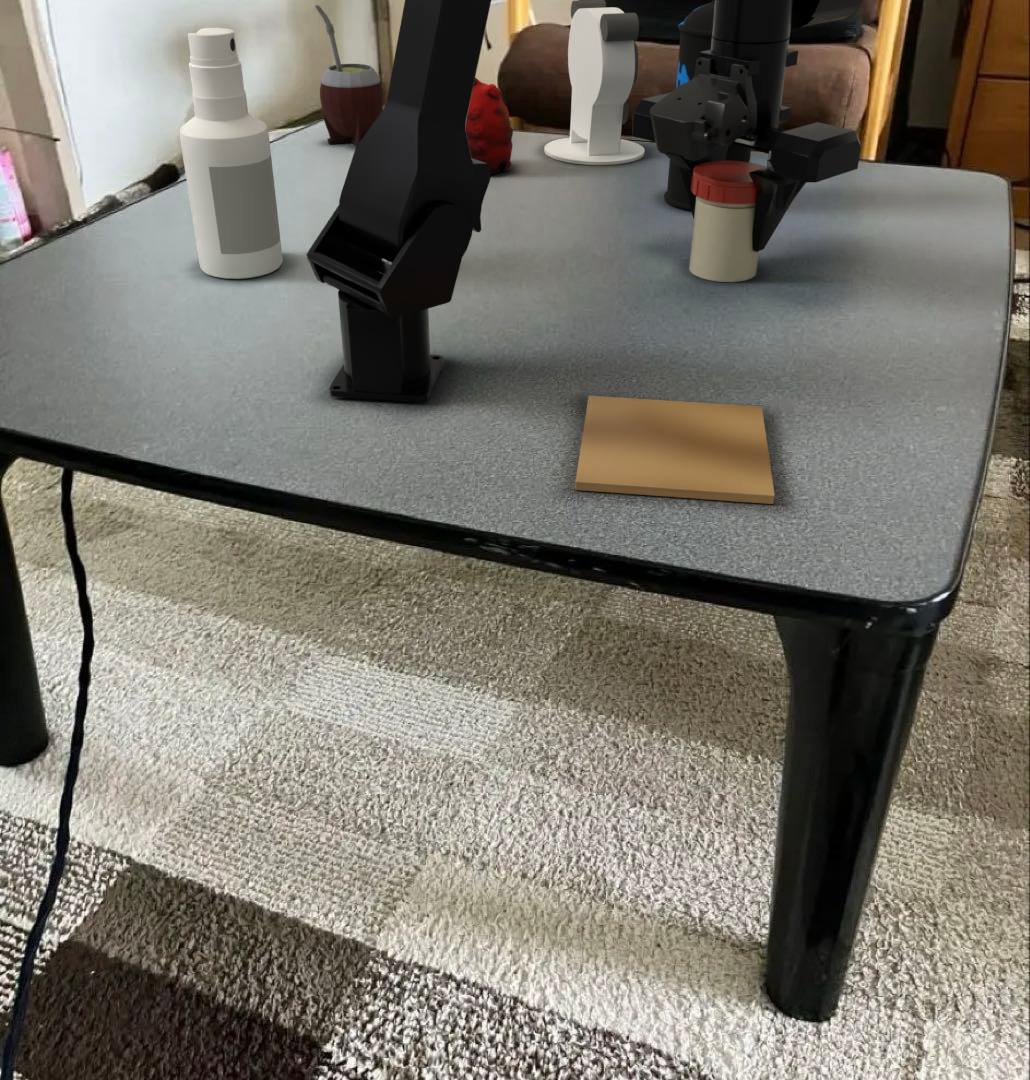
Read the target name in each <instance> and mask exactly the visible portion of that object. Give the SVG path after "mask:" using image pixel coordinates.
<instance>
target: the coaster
mask: <svg viewBox="0 0 1030 1080" xmlns="http://www.w3.org/2000/svg"><path fill="white" fill-rule="evenodd" d="M580 443H581V444H580V449H579V456H578V462H577V463H578V464H577V468H576V476H575V482H574V483H575V484H574V485H575V486H574V489H575V491H583V492H598V493H612V494H624V495H625V494H626V495H641V496H652V497H653V496H654V497H666V498H667V497H668V498H681V499H695V500H696V499H697V500H698V499H699V500H708V501H709V500H711V501H724V502H737V503H738V502H739V503H750V504H751V503H752V504H764V505H774V503H775V498H776V494H775V493H776V492H775V487H774V480H773V479H774V478H773V473H772V467H771V459H770V453H769V446H768V439H767V432H766V425H765V418H764V410H763V406H760V405H745V404H744V405H743V404H728V403H714V402H713V403H712V402H698V401H681V400H664V399H652V398H651V399H650V398H649V399H648V398H636V397H635V398H633V397H619V396H618V397H617V396H603V395H588V398H587V403H586V410H585V418H584V423H583V430H582V437H581V442H580Z"/></svg>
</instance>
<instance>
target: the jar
mask: <svg viewBox="0 0 1030 1080" xmlns="http://www.w3.org/2000/svg"><path fill="white" fill-rule="evenodd" d="M755 205H756V203H753V204H727V203H718V202H713V201H708V200H705V199H702V198H700V197H697V196H696V203H695V213H694V219H693V224H692V235H691V245H690V255H689V263H688V270H689V272H690V273H691V274H692V275H694V276H695V277H698V278H700V279H703V280H707V281H712V282H719V283H738V282H745V281H748V280H751V279H753V278H755V276H756V275H757V270H758V265H759V264H758V263H759V256H760V251H758V252H755V251H753V249H752V232H753V223H754V214H755Z"/></svg>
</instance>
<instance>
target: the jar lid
mask: <svg viewBox="0 0 1030 1080" xmlns="http://www.w3.org/2000/svg"><path fill="white" fill-rule="evenodd" d="M765 167H767V165H763V164H760V163H755V162H751V161H750V162H742V161H712V162H706V163H702V164H699V165H697V166H696V167H695V168H694V171H693V177H692V184H691V191H692V193H693V194H694V195H696V196H697V197H700V198H702V199H705V200H708V201H713V202H718V203H727V204H753V203H756V195H757V188H756V186H755V184H754V183H753V181H752V179H751V177H750V175H749V172H752V171H755V170H759V169H762V168H765Z"/></svg>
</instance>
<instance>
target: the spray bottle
mask: <svg viewBox="0 0 1030 1080" xmlns="http://www.w3.org/2000/svg"><path fill="white" fill-rule="evenodd" d="M187 39H188V47H189V54H190V55H189V60H190V62H189V63H188V68H189V75H190V81H191V89H192V93H191V97H192V104H193V110H194V116H193V117H191V118H190V119H189V120H187V122H185V123H184V124H182V125H181V127H180V128H179V140H180V147H181V154H182V159H183V167H184V172H185V173H184V174H185V179H186V185H187V186H186V187H187V192H188V198H189V205H190V210H191V212H190V213H191V218H192V224H193V230H194V236H195V243H196V249H197V255H198V262H199V263H198V264H199V267H200V269H201V271H202V272H204V274H206V275H208V276H212V277H215V278H220V279H233V280H234V279H235V280H236V279H237V280H241V279H250V278H251V279H253V278H256V277H261V276H264V275H265V276H266V275H267V274H268V275H269V274H270V273H273V272H274V271H276V270H278V269H279V268H280V267H281V265H282V264H283V262H284V261H283V260H284V259H283V249H282V241H281V232H280V231H281V230H280V223H279V215H278V205H277V195H276V188H275V186H276V185H275V178H274V177H275V176H274V170H273V169H274V168H273V161H272V150H271V142H270V141H271V140H270V132H269V129H268V126H267V124H266V123H265V122H264V121H262V120H260V118H257V117H255V116H253V115H252V114H250V113H249V108H248V101H247V100H248V99H247V92H246V90H245V86H244V85H245V84H244V75H243V69H242V67H243V66H242V61H240V60H239V55H238V52H237V44H236V36H235V31H234V30H233V29H231V28H225V27H202V28H200V29H199V30H198V31H196V32H189V33H188V32H187Z"/></svg>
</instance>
